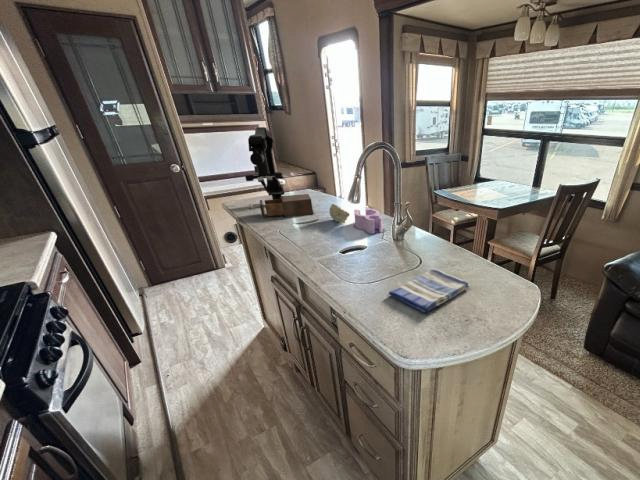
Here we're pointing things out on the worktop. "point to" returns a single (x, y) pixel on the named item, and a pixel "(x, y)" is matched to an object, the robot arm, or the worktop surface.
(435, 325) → the worktop surface
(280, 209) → the drawer
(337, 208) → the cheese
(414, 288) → the dish towel
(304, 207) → the cabinet
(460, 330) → the worktop surface
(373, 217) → the clip
